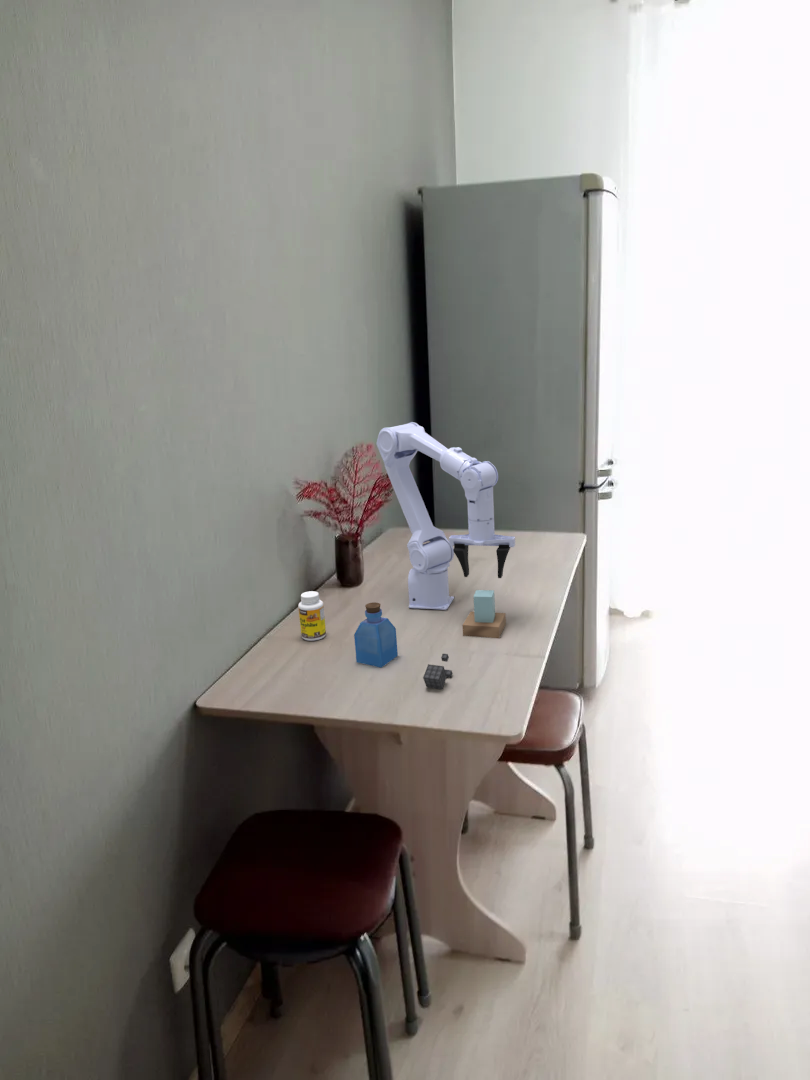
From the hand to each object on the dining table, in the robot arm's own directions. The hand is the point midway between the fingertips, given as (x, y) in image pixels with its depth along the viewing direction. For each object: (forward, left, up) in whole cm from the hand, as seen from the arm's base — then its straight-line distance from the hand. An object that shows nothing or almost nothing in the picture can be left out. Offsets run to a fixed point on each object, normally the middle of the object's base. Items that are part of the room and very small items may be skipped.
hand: (483, 576), depth 183 cm
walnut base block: (+1, -6, -11) cm, 12 cm away
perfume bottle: (-18, -24, -11) cm, 32 cm away
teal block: (+1, -6, -8) cm, 10 cm away
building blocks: (-3, -32, -11) cm, 34 cm away
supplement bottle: (-36, -15, -11) cm, 40 cm away
